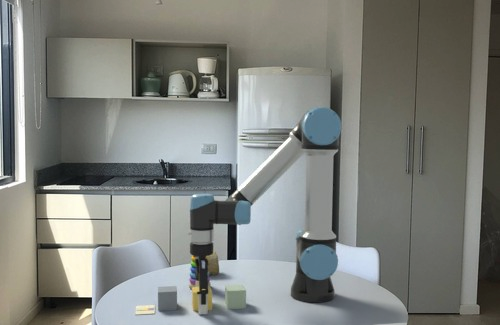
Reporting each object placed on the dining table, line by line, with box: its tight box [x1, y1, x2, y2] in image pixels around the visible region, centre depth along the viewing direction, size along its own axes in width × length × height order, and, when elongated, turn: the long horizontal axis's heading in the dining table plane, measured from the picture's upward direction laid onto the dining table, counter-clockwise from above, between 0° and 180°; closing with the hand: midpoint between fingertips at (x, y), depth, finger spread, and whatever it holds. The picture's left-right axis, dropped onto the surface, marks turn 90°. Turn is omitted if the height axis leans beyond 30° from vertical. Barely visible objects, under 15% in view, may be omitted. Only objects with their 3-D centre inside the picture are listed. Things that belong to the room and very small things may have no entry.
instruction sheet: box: [134, 304, 156, 316], centre depth 168 cm, size 6×8×1 cm
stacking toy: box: [188, 255, 211, 290], centre depth 192 cm, size 8×8×19 cm
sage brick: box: [224, 284, 247, 310], centre depth 173 cm, size 6×6×6 cm
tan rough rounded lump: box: [206, 250, 220, 276], centre depth 210 cm, size 10×10×10 cm
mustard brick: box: [191, 285, 213, 312], centre depth 171 cm, size 6×6×6 cm
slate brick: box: [157, 285, 178, 311], centre depth 171 cm, size 6×6×6 cm
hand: (201, 306), depth 171 cm, fingers open, 13 cm apart
